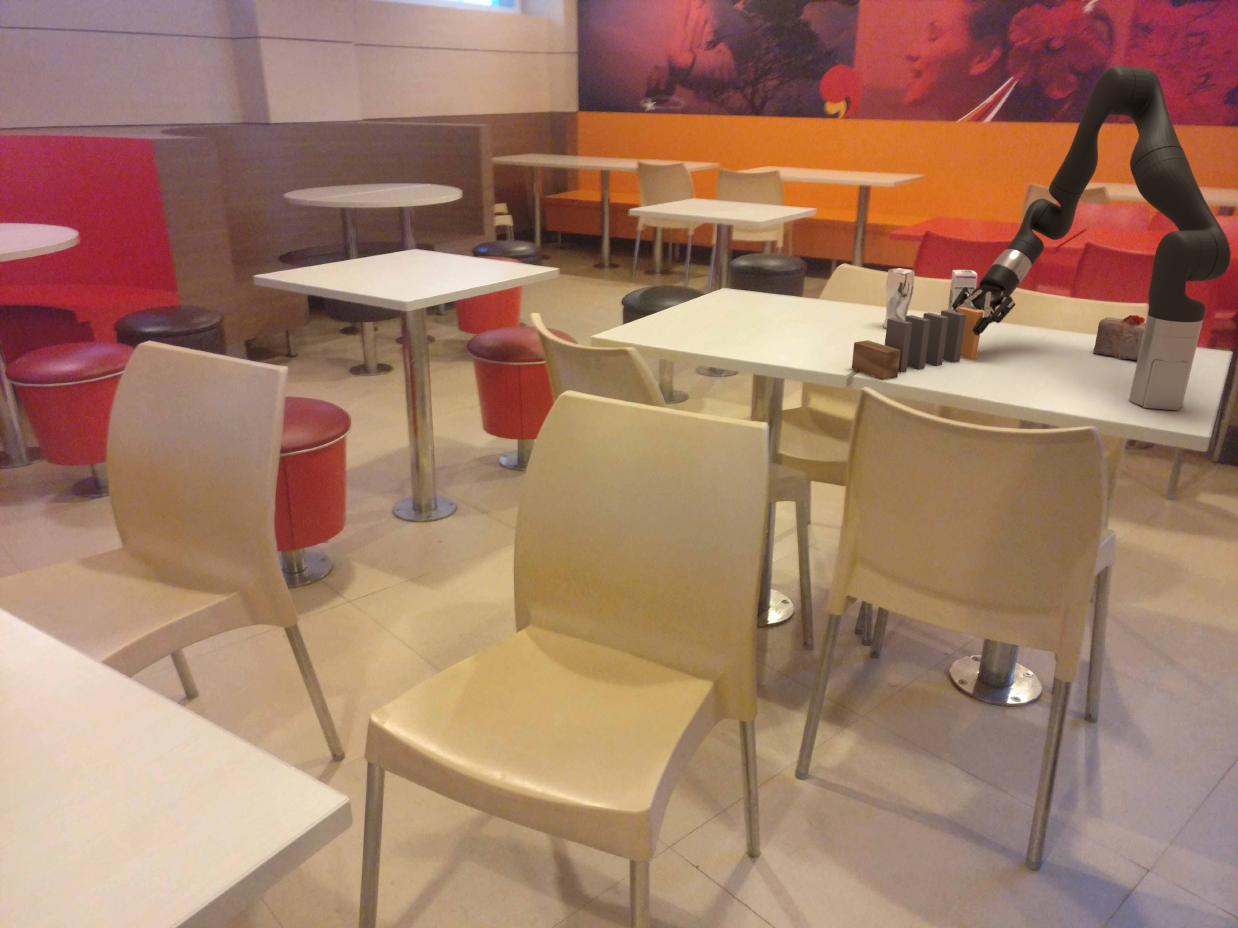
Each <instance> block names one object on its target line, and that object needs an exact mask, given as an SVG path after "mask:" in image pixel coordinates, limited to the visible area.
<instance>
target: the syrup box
mask: <svg viewBox="0 0 1238 928" xmlns="http://www.w3.org/2000/svg"><path fill="white" fill-rule="evenodd" d="M977 283H978V273H977V272H976V271H975V270H973V269H972V270H971V269H953V270H952V273H951V281H950V289H949V297H948V306H947V310H950V311H954V312H955V310H954V309H953V307H952V304H953V303H954V301H955V300H956V298H957V297H958V295H959V294H960V292H961V291H962V289H963V288H964V287H967V288H968V290H974V289H976V288H977ZM958 305H959V304H958ZM970 305H971V306H974V305H973V304H972V302H971V303H970ZM966 308H967V307H966Z"/></svg>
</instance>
